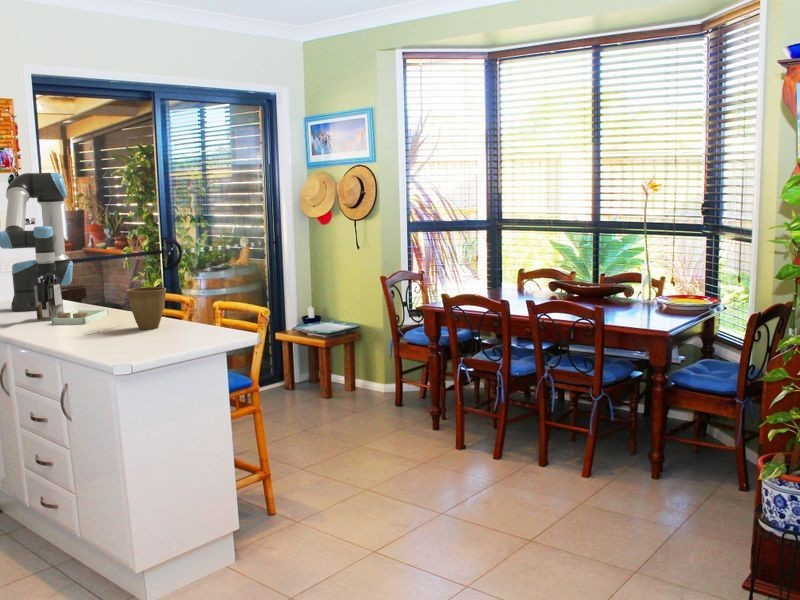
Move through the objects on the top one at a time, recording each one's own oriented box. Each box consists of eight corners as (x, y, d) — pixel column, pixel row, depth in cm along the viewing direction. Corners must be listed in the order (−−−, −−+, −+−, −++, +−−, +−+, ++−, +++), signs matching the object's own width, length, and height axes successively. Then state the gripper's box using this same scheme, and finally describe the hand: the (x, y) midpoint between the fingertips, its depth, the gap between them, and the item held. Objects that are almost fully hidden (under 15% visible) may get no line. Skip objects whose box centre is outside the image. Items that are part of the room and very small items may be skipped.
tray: (77, 318, 335) (77, 310, 334) (108, 317, 334) (108, 309, 334) (52, 326, 313) (51, 318, 313) (85, 326, 312) (84, 318, 312)
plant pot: (156, 331, 297) (154, 291, 295) (122, 331, 300) (119, 291, 298) (175, 325, 311) (172, 286, 309) (142, 324, 314) (139, 286, 312)
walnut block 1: (61, 322, 318) (60, 312, 318) (71, 321, 319) (70, 312, 318) (58, 323, 314) (57, 314, 314) (68, 323, 315) (67, 314, 314)
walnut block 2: (80, 321, 318) (79, 312, 318) (88, 322, 317) (87, 312, 317) (73, 323, 315) (72, 313, 314) (81, 323, 313) (80, 314, 313)
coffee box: (64, 319, 330) (61, 283, 328) (56, 322, 324) (53, 285, 322) (45, 320, 331) (41, 283, 329) (36, 322, 325) (33, 285, 323)
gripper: (49, 260, 334) (53, 312, 337) (24, 264, 315) (29, 319, 318) (65, 260, 333) (69, 312, 337) (42, 264, 314) (47, 319, 317)
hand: (50, 315), depth 327 cm, fingers closed on coffee box, 6 cm apart
